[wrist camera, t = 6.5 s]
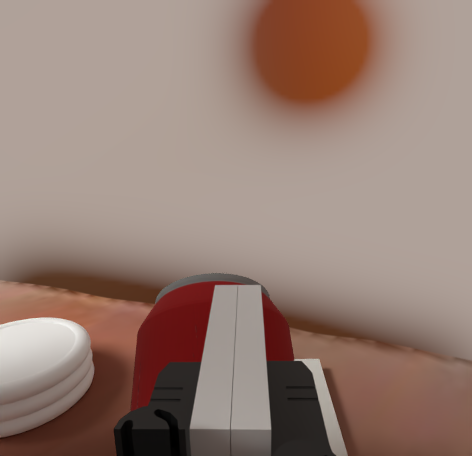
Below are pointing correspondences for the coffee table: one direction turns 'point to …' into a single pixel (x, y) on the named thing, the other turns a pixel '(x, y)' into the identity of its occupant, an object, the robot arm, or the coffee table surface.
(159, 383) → the robot arm
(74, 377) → the coaster
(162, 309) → the beverage can
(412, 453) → the coffee table surface
